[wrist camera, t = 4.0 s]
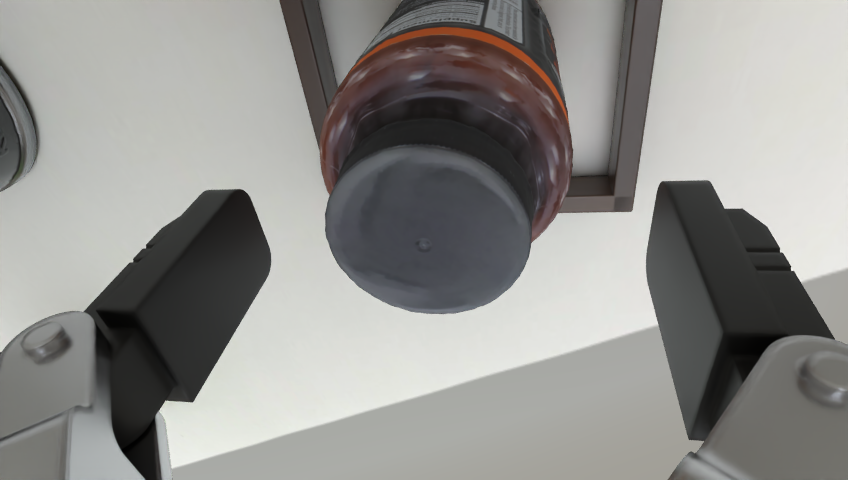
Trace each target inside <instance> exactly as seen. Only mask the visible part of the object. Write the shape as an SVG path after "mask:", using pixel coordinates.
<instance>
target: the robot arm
mask: <svg viewBox="0 0 848 480" xmlns="http://www.w3.org/2000/svg"><path fill="white" fill-rule="evenodd" d="M35 156H36V135H35V129H34V126H33V122H32V119H31V116H30V114H29V111H28V109H27V107H26V105H25V102H24V100H23V98H22V97H21V95H20V93H19V91H18V90H17V88H16V86H15V85H14V83H13V82H12V80H11V79H10V77H9V76H8V75H7V73H6V72H5V71H4V69H3V68H2V67H1V66H0V192H1V191H3V190H5V189H7V188H8V187H10V186H11V185H13V184H14V183H16V182H17V181H19V180H20V179H21V178H23V177H24V176H25V175H26V174H27V173H28V172H29V170H30V169H31V167H32V165H33V163H34V160H35ZM270 267H271V252H270V248H269V245H268V243H267V240H266V237H265V235H264V232H263V230H262V227H261V224H260V222H259V219H258V216H257V214H256V211H255V209H254V206H253V203H252V201H251V199H250V197H249V195H248V194H247V193H246V192H245V191H244V190H241V189H232V190H206V191H204V192H203V193H202V194H201V195H200V196H199V197H198V198H197V199H196V200H195V201H194V202H193V203H192V204H191V206H190V207H189V208H188V209H187V210H186V211H185V212H184V213H183V214H182V215H181V216H180V217H178V218H177V219H175V220H174V221H172V222H171V223H169V224H168V225H166V226H165V227H163V228H162V229H161V230H160V231H159V232H158V233H157V234H156V235H155V236H154V237H153V238H152V239H151V240H150V241H149V243H148V244H147V245H146V249H142V250H141V251H140V252H139V253H138V254H137V255H136V256H135V257H134V259H133V263H129V264H128V265H127V266H126V267H125V268H124V269H123V270H122V271H121V272H120V274H119V275H118V276H117V277H116V278H115V279H114V280H113V281H112V282H111V283H110V284H109V285H108V286H107V287H106V288H105V290H104V291H103V292H102V293H101V294H100V295H99V296H98V297H97V298H96V299H95V300H94V301H93V302H92V303H91V304H90V306H89V307H88V308H87V309H86V310H85V311H84V312H80V311H70V312H64V313H59V314H56V315H53V316H50V317H48V318H45V319H43V320H41V321H39V322H37V323H35V324H33V325H32V326H30V327H28V328H27V329H25V330H24V331H22V332H21V333H20V334H18V335H17V336H16V337H15V338H14V339H13V340H12V341H11V342H10V343H9V344H8V345H7V346H6V347H5V348H4V350H3V351H2V352H1V353H0V480H173V478H172V471H171V462H170V455H169V447H168V439H167V431H166V423H165V420H164V418H163V416H162V415H161V413H160V412H159V410H160V408H161V407H162V405H163V404H164V402H165V400H168V401H182V402H193V401H194V400H195V398H196V396H197V395H198V393H199V391H200V390H201V388H202V386H203V385H204V383H205V381H206V379H207V378H208V376H209V374H210V373H211V371H212V369H213V368H214V366H215V364H216V363H217V361H218V359H219V358H220V356H221V354H222V353H223V351H224V349H225V348H226V346H227V344H228V343H229V341H230V339H231V337H232V336H233V334H234V332H235V331H236V329H237V327H238V326H239V324H240V322H241V321H242V319H243V317H244V316H245V314H246V312H247V311H248V309H249V307H250V306H251V304H252V302H253V300H254V299H255V297H256V295H257V294H258V292H259V290H260V289H261V287H262V285H263V284H264V282H265V280H266V279H267V277H268V275H269V272H270ZM646 273H647V281H648V286H649V290H650V294H651V298H652V301H653V305H654V309H655V313H656V317H657V321H658V324H659V328H660V331H661V336H662V340H663V343H664V347H665V351H666V355H667V358H668V363H669V366H670V370H671V374H672V378H673V382H674V385H675V389H676V393H677V397H678V400H679V405H680V408H681V412H682V416H683V420H684V424H685V428H686V431H687V435H688V438H689V440H699V441H704V443H703V444H702V446H701V447H700V448H699V450H698V451H697V452H696V453H693V452H689V453H688V454H687V455H686V456H685V457H684V458H683V459H682V461H681V462H680V463H679V465H678V466H677V467H676V469H675V470H674V472H673V473H672V474H671V476H670V478H669V479H668V480H848V344H845V343H842V342H840V341H836V340H835V338H834V337H833V335H832V334H831V332H830V330H829V329H828V327H827V325H826V324H825V322H824V320H823V319H822V317H821V315H820V314H819V312H818V310H817V309H816V307H815V305H814V304H813V302H812V301H811V299H810V297H809V296H808V294H807V292H806V291H805V289H804V287H803V285H802V284H801V282H800V280H799V279H798V277H797V275H796V274H795V272H794V271H791V266H790V264H789V262H788V261H787V259H786V257H785V256H784V254H783V253H780V247H779V246H778V244H777V242H776V241H775V239H774V237H773V236H772V234H771V232H770V231H769V229H768V227H767V226H765V225H764V224H763V223H761V222H760V221H759V220H757V219H756V218H754V217H753V216H752V215H750V214H749V213H748V212H746V211H745V210H743V209H724V207H723V205H722V203H721V201H720V199H719V197H718V195H717V193H716V191H715V189H714V188H713V186H712V184H711V182H709V181H707V180H704V181H662V182H661V183H660V185H659V187H658V190H657V195H656V201H655V206H654V212H653V218H652V224H651V230H650V236H649V241H648V247H647V255H646Z"/></svg>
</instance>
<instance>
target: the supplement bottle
mask: <svg viewBox="0 0 848 480" xmlns="http://www.w3.org/2000/svg"><path fill="white" fill-rule="evenodd" d="M572 158H573V148H572V140H571V134H570V129H569V121H568V111H567V108H566V103H565V97H564V92H563V88H562V84H561V79H560V74H559V67H558V61H557V56H556V48H555V44H554V38H553V36H552V32H551V28H550V26H549V23H548V21H547V19H546V16H545V14H544V13H543V11H542V9H541V7H540V6H539V4H538V3H537V1H536V0H403V1H402V3H401V4H400V5H399V6H398V8H397V9H396V10H395V12H394V13H393V14H392V16H391V17H390V18H389V20H388V21H387V22H386V23H385V25H384V26H383V28H382V29H381V30H380V32H379V33H378V34H377V36H376V37H375V38H374V39H373V41H372V42H371V43H370V45H369V46H368V47H367V49H366V50H365V51H364V53H363V54H362V55H361V57H360V58H359V59H358V60H357V62H356V64H355V65H354V66H353V67H352V69H351V70H350V71H349V73H348V75H347V76H346V78H345V79H344V80H343V82H342V83H341V85H340V86H339V88H338V89H337V91H336V93H335V95H334V96H333V98H332V101H331V103H330V105H329V107H328V110H327V112H326V115H325V118H324V122H323V126H322V130H321V135H320V163H321V170H322V175H323V178H324V182H325V186H326V188H327V191H328V193H329V195H330V197H329V200H328V203H327V208H326V213H325V222H326V226H325V232H326V238H327V240H328V242H329V245H330V249H331V251H332V253H333V256H334V258H335V259H336V261H337V263H338V265H339V266H340V267H341V269H342V270H343V271H344V272H345V273H346V274H347V275H348V277H349V278H350V279H351V280H353V281H354V282H355V283H356V284H357V286H359V287H360V288H362V289H363V290H365V291H366V292H368V293H369V294H371V295H372V296H374V297H375V298H378V299H380V300H381V301H383V302H385V303H387V304H390V305H392V306H394V307H399V308H402V309H405V310H408V311H411V312H417V313H429V314H446V313H458V312H463V311H468V310H472V309H475V308H477V307H480V306H483V305H486V304H488V303H490V302H492V301H493V300H495V299H496V298H498V297H499V296H500V295H501V294H503V293H504V292H505V291H506V290H508V289H509V288H510V287H511V286H512V285H513V283H514V282H515V281H516V280H517V278H518V277H519V276H520V274H521V272H522V271H523V269H524V267H525V265H526V262H527V260H528V257H529V253H530V248H531V243H532V242H533V241H534V240H535V239H536V238H537V237H539V236H540V235H541V233H542V232H544V231H545V230H546V229H547V227H548V226H549V224H550V223H551V222H552V221H553V220H554V218H555V217H556V215H557V213H558V212H559V210H560V208H561V207H562V204H563V201H564V199H565V196H566V194H567V192H568V191H569V185H570V179H571V172H572V167H573V164H572Z"/></svg>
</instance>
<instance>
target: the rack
mask: <svg viewBox="0 0 848 480" xmlns="http://www.w3.org/2000/svg"><path fill="white" fill-rule="evenodd" d="M279 1H280V4H281V8H282V12H283V16H284V19H285V23H286V27H287V31H288V34H289V38H290V42H291V46H292V49H293V53H294V57H295V61H296V64H297V68H298V72H299V76H300V79H301V83H302V87H303V91H304V94H305V98H306V102H307V106H308V109H309V113H310V117H311V121H312V124H313V128H314V132H315V136H316V139H317V143H318V147H319V151H320V135H321V130H322V126H323V122H324V118H325V115H326V112H327V110H328V107H329V105H330V103H331V101H332V98H333V96H334V95H335V93H336V91H337V85H336V80H335V76H334V72H333V67H332V63H331V58H330V54H329V50H328V45H327V41H326V36H325V32H324V27H323V23H322V19H321V14H320V10H319V5H318V1H317V0H279ZM662 3H663V0H627V1H626V10H625V19H624V29H623V38H622V48H621V57H620V67H619V76H618V86H617V95H616V105H615V114H614V124H613V133H612V143H611V152H610V162H609V171H608V176H591V177H571V179H570V185H569V191H568V192H567V194H566V196H565V199H564V201H563V204H562V207H561V208H560V210H559V212H558V213H582V212H631V211H632V210H633V203H634V197H635V190H636V183H637V176H638V169H639V162H640V155H641V148H642V141H643V134H644V127H645V120H646V113H647V107H648V100H649V93H650V86H651V79H652V72H653V65H654V58H655V51H656V44H657V37H658V30H659V24H660V17H661V10H662Z"/></svg>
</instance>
